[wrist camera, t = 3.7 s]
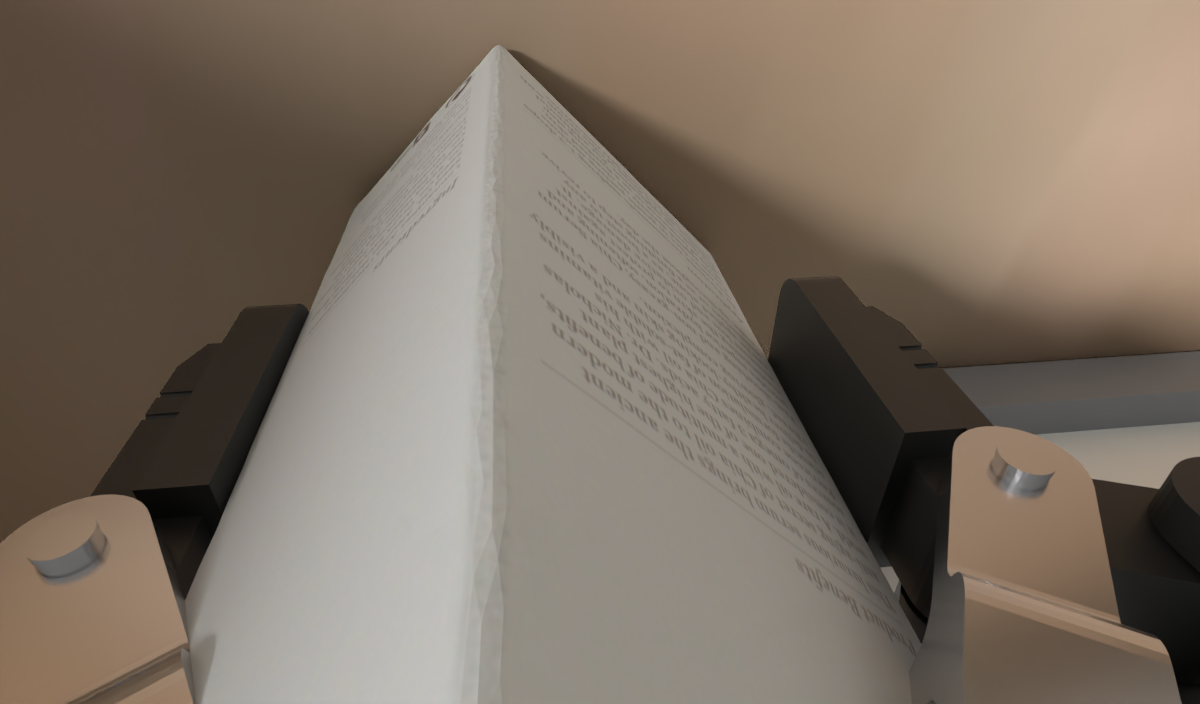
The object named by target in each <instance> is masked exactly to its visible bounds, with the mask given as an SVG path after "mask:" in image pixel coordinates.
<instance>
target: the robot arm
mask: <svg viewBox="0 0 1200 704" xmlns="http://www.w3.org/2000/svg"><path fill="white" fill-rule="evenodd" d="M308 314H309V311H308V310H307V308H306V307H305V306H304V305H302V304H292V305H274V306H255V307H246V308H244V309H243V310H242V312H241V313H240V315H239V316H238V318H237V320H236V321H235V323H234V324H233V326H232V328H231V329H230V331H229V333H228V334H227V336H226V337H225V339H224V341H223V342H222V343H218V344H208V345H206V346H205V347H204V348H202V349H201V350H200V351H198V352H197V353H196V354H194V355H193V356H192V357H190V358H189V359H188V360H186V361H185V362H184V363H182V364H181V365H180V366H178V367H177V369H176V370H175V371H174V373H173V374H172V376H171V377H170V379H169V380H168V382H167V383H166V385H165V386H164V388H163V389H162V391H161V392H160V394H161V397H160V398H156V400H155V401H154V403H153V404H152V406H151V407H150V409H149V410H148V412H147V413H146V420H142V421H141V422H140V423H139V425H138V426H137V428H136V429H135V431H134V432H133V434H132V435H131V437H130V438H129V440H128V441H127V443H126V444H125V446H124V447H123V449H122V450H121V452H120V453H119V455H118V456H117V458H116V459H115V461H114V462H113V464H112V465H111V467H110V468H109V470H108V471H107V472H106V474H105V475H104V477H103V478H102V480H101V481H100V483H99V484H98V486H97V487H96V489H95V490H94V492H93V493H92V495H91V496H90V497H85V498H81V499H77V500H74V501H71V502H68V503H65V504H62V505H60V506H57V507H55V508H53V509H50V510H48V511H46V512H44V513H42V514H40V515H39V516H37V517H35V518H33V519H31V520H30V521H28V522H27V523H25V524H24V525H22V526H21V527H19V528H18V529H17V530H15V531H14V532H13V533H11V534H10V535H9V536H8V537H7V538H6V539H5V540H4V541H2V542H1V543H0V704H196V700H195V691H194V682H193V673H192V663H191V654H190V645H189V636H188V626H187V617H186V605H185V599H186V597H187V595H188V592H189V590H190V587H191V585H192V583H193V580H194V578H195V576H196V573H197V571H198V569H199V566H200V564H201V562H202V560H203V558H204V555H205V553H206V551H207V549H208V547H209V545H210V543H211V540H212V538H213V536H214V534H215V532H216V530H217V527H218V525H219V522H220V520H221V517H222V515H223V512H224V510H225V507H226V505H227V502H228V500H229V498H230V496H231V493H232V491H233V489H234V486H235V484H236V482H237V480H238V477H239V475H240V473H241V471H242V468H243V466H244V463H245V461H246V458H247V456H248V453H249V451H250V448H251V446H252V444H253V441H254V439H255V437H256V434H257V432H258V430H259V427H260V425H261V423H262V420H263V418H264V416H265V414H266V411H267V409H268V407H269V404H270V402H271V400H272V398H273V395H274V393H275V391H276V388H277V386H278V384H279V381H280V379H281V377H282V374H283V372H284V370H285V367H286V365H287V363H288V360H289V358H290V356H291V353H292V351H293V348H294V346H295V344H296V342H297V339H298V337H299V335H300V332H301V330H302V328H303V325H304V323H305V321H306V318H307V316H308ZM768 362H769V363H770V365H771V367H772V369H773V371H774V373H775V375H776V377H777V379H778V380H779V382H780V384H781V386H782V388H783V390H784V392H785V393H786V395H787V397H788V399H789V401H790V403H791V404H792V406H793V408H794V410H795V412H796V414H797V415H798V417H799V419H800V421H801V423H802V425H803V426H804V428H805V430H806V432H807V434H808V436H809V438H810V440H811V441H812V443H813V445H814V447H815V449H816V450H817V452H818V454H819V456H820V458H821V460H822V461H823V463H824V465H825V467H826V469H827V470H828V472H829V474H830V476H831V478H832V480H833V481H834V483H835V485H836V487H837V489H838V491H839V493H840V494H841V496H842V498H843V500H844V502H845V504H846V506H847V507H848V509H849V511H850V513H851V515H852V517H853V519H854V520H855V522H856V524H857V526H858V528H859V530H860V532H861V533H862V535H863V537H864V539H865V541H866V543H867V544H868V546H869V548H870V550H871V552H872V554H873V555H874V557H875V559H876V561H877V563H878V565H879V566H880V567H890V566H892V568H893V570H894V572H895V573H896V575H897V577H898V579H899V582H898V584H897V587H896V589H895V592H894V594H895V596H896V598H897V600H898V602H899V604H900V606H901V608H902V610H903V611H904V613H905V615H906V617H907V619H908V620H909V622H910V624H911V626H912V628H913V630H914V631H915V633H916V635H917V637H918V639H919V641H920V642H921V647H920V649H919V651H918V654H917V656H916V658H915V660H914V662H913V664H912V666H911V668H910V671H909V680H910V690H911V700H912V704H1200V457H1192V458H1188V459H1185V460H1182V461H1180V462H1179V463H1177V464H1176V465H1175V466H1174V468H1173V469H1172V471H1171V472H1170V474H1169V475H1168V477H1167V478H1166V480H1165V481H1164V483H1163V484H1162V486H1161V487H1160V489H1156V488H1149V487H1143V486H1136V485H1130V484H1123V483H1117V482H1110V481H1104V480H1097V479H1091V477H1090V475H1089V473H1088V472H1087V470H1086V469H1085V468H1084V467H1083V466H1082V464H1081V463H1080V462H1078V461H1077V460H1076V459H1075V458H1074V457H1073V456H1072V455H1070V454H1069V453H1068V452H1066V451H1065V450H1064V449H1062V448H1060V447H1059V446H1057V445H1055V444H1054V443H1052V442H1050V441H1048V440H1046V439H1044V438H1042V437H1039V436H1036V435H1034V434H1031V433H1028V432H1025V431H1021V430H1018V429H1013V428H1008V427H999V426H994V425H993V424H992V423H991V422H990V421H989V420H988V419H987V418H986V417H985V415H984V414H983V413H982V412H981V411H980V410H979V409H978V408H977V407H976V405H975V404H974V403H973V402H972V401H971V400H970V399H969V398H968V397H967V395H966V394H965V393H964V392H963V391H962V390H961V389H960V388H959V386H958V385H957V384H956V383H955V382H954V381H953V380H952V379H951V378H950V376H949V375H948V374H947V373H946V372H945V371H944V370H943V369H942V368H941V367H937V362H936V361H935V360H934V359H933V357H932V356H931V355H930V354H929V353H928V352H927V351H926V350H925V349H921V344H920V343H919V342H918V341H917V340H916V339H915V337H914V336H913V335H912V334H911V333H910V332H909V331H908V330H907V329H906V327H905V326H904V325H903V324H902V323H900V322H898V321H897V320H895V319H893V318H892V317H890V316H888V315H887V314H885V313H883V312H881V311H880V310H878V309H876V308H875V307H873V306H871V307H865V306H864V305H863V304H862V303H861V302H860V300H859V299H858V298H857V297H856V296H855V295H854V293H853V292H852V291H851V290H850V289H849V287H848V286H847V285H846V284H845V283H844V282H843V280H842V279H841V278H839V277H835V276H834V277H815V278H796V279H788V280H786V281H785V283H784V284H783V286H782V289H781V292H780V297H779V302H778V308H777V314H776V319H775V325H774V331H773V336H772V342H771V348H770V353H769V359H768Z"/></svg>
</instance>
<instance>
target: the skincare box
mask: <svg viewBox="0 0 1200 704" xmlns="http://www.w3.org/2000/svg"><path fill="white" fill-rule="evenodd" d="M185 605H186V617H187V626H188V636H189V645H190V654H191V663H192V673H193V682H194V691H195V700H196V704H912V700H911V690H910V680H909V671H910V668H911V666H912V664H913V662H914V660H915V658H916V656H917V654H918V651H919V649H920V647H921V642H920V641H919V639H918V637H917V635H916V633H915V631H914V630H913V628H912V626H911V624H910V622H909V620H908V619H907V617H906V615H905V613H904V611H903V610H902V608H901V606H900V604H899V602H898V600H897V598H896V596H895V594H894V592H893V591H892V589H891V587H890V585H889V583H888V581H887V579H886V577H885V576H884V574H883V572H882V570H881V568H880V566H879V565H878V563H877V561H876V559H875V557H874V555H873V554H872V552H871V550H870V548H869V546H868V544H867V543H866V541H865V539H864V537H863V535H862V533H861V532H860V530H859V528H858V526H857V524H856V522H855V520H854V519H853V517H852V515H851V513H850V511H849V509H848V507H847V506H846V504H845V502H844V500H843V498H842V496H841V494H840V493H839V491H838V489H837V487H836V485H835V483H834V481H833V480H832V478H831V476H830V474H829V472H828V470H827V469H826V467H825V465H824V463H823V461H822V460H821V458H820V456H819V454H818V452H817V450H816V449H815V447H814V445H813V443H812V441H811V440H810V438H809V436H808V434H807V432H806V430H805V428H804V426H803V425H802V423H801V421H800V419H799V417H798V415H797V414H796V412H795V410H794V408H793V406H792V404H791V403H790V401H789V399H788V397H787V395H786V393H785V392H784V390H783V388H782V386H781V384H780V382H779V380H778V379H777V377H776V375H775V373H774V371H773V369H772V367H771V365H770V363H769V362H768V360H767V358H766V356H765V354H764V352H763V351H762V349H761V347H760V345H759V343H758V342H757V340H756V338H755V336H754V334H753V332H752V330H751V328H750V326H749V325H748V323H747V321H746V319H745V317H744V315H743V313H742V311H741V309H740V307H739V305H738V303H737V301H736V300H735V298H734V296H733V294H732V292H731V291H730V289H729V287H728V285H727V283H726V281H725V279H724V278H723V276H722V274H721V272H720V270H719V268H718V266H717V265H716V263H715V261H714V259H713V257H712V255H711V254H710V253H709V252H708V251H707V250H706V249H705V248H704V247H703V246H702V244H701V243H700V242H699V241H698V240H697V239H696V238H695V237H694V236H693V235H692V234H691V233H690V232H689V231H688V230H687V229H686V228H685V227H684V226H683V225H682V224H681V223H680V222H679V221H678V220H677V219H676V218H675V217H674V216H673V215H672V214H671V213H670V212H669V211H668V210H667V209H666V208H665V207H664V206H663V205H661V204H660V203H659V202H658V201H657V200H656V199H655V198H654V197H653V196H652V195H651V194H650V193H649V192H648V191H647V190H646V189H645V188H644V187H643V186H642V185H641V184H640V183H639V182H638V181H637V180H636V179H635V178H634V177H633V176H632V175H631V174H630V173H629V171H628V170H627V169H626V168H625V167H624V166H623V165H622V164H620V163H619V162H618V161H617V160H616V159H615V158H614V157H613V156H612V155H611V154H610V153H609V152H608V151H607V150H606V149H605V148H604V147H603V146H602V145H601V144H600V143H599V142H598V141H597V140H596V139H595V138H594V137H593V136H592V135H591V134H590V133H589V132H588V131H587V130H586V129H585V128H584V127H583V126H582V125H581V124H580V123H579V122H578V121H577V120H576V119H575V118H574V117H573V116H572V115H571V114H570V113H569V112H568V111H567V110H566V109H565V108H564V107H563V106H562V105H561V104H560V103H559V102H558V101H557V100H556V99H555V98H554V97H553V96H552V95H551V94H550V93H549V92H548V91H547V90H546V89H545V88H544V87H543V86H542V85H541V84H540V83H539V82H538V81H537V80H536V79H535V78H534V77H533V76H532V75H531V74H530V73H529V72H528V71H527V70H526V69H525V68H524V67H523V66H522V65H521V64H520V63H519V62H518V61H517V60H516V59H515V58H514V57H513V56H512V55H511V54H510V53H509V52H508V51H507V50H506V49H505V48H504V47H502V46H501V45H497V46H495V47H494V48H492V50H491V51H490V52H489V53H488V54H487V56H486V57H485V58H484V59H483V60H482V61H481V63H480V64H479V65H478V66H477V67H476V68H475V70H474V71H473V72H472V73H471V74H470V75H469V76H468V78H467V79H466V80H465V81H464V82H463V83H462V85H461V86H460V87H459V88H458V89H457V90H456V91H455V92H454V93H453V95H452V96H451V97H450V98H449V99H448V100H447V101H446V102H445V103H444V104H443V106H442V107H441V108H440V109H439V110H438V111H437V112H436V113H435V114H434V116H433V117H432V118H431V119H430V120H429V122H428V123H427V124H426V125H425V126H424V128H423V129H422V130H421V131H420V132H419V134H418V135H417V136H416V137H415V138H414V140H413V141H412V142H411V143H410V145H409V146H408V147H407V148H406V149H405V151H404V152H403V153H402V154H401V155H400V157H399V158H398V159H397V160H396V161H395V163H394V164H393V165H392V166H391V167H390V168H389V170H388V171H387V172H386V173H385V174H384V176H383V177H382V178H381V179H380V180H379V181H378V183H377V184H376V185H375V186H374V187H373V188H372V190H371V191H370V192H369V193H368V194H367V195H366V196H365V197H364V198H363V199H362V201H361V202H360V203H359V204H358V205H357V206H356V208H355V209H354V211H353V213H352V215H351V217H350V219H349V221H348V224H347V226H346V228H345V231H344V233H343V236H342V238H341V241H340V243H339V245H338V247H337V250H336V252H335V254H334V256H333V258H332V261H331V263H330V265H329V267H328V270H327V271H326V274H325V276H324V278H323V281H322V283H321V286H320V288H319V290H318V293H317V295H316V298H315V300H314V302H313V305H312V307H311V309H310V311H309V314H308V316H307V318H306V321H305V323H304V325H303V328H302V330H301V332H300V335H299V337H298V339H297V342H296V344H295V346H294V348H293V351H292V353H291V356H290V358H289V360H288V363H287V365H286V367H285V370H284V372H283V374H282V377H281V379H280V381H279V384H278V386H277V388H276V391H275V393H274V395H273V398H272V400H271V402H270V404H269V407H268V409H267V411H266V414H265V416H264V418H263V420H262V423H261V425H260V427H259V430H258V432H257V434H256V437H255V439H254V441H253V444H252V446H251V448H250V451H249V453H248V456H247V458H246V461H245V463H244V466H243V468H242V471H241V473H240V475H239V477H238V480H237V482H236V484H235V486H234V489H233V491H232V493H231V496H230V498H229V500H228V502H227V505H226V507H225V510H224V512H223V515H222V517H221V520H220V522H219V525H218V527H217V530H216V532H215V534H214V536H213V538H212V540H211V543H210V545H209V547H208V549H207V551H206V553H205V555H204V558H203V560H202V562H201V564H200V566H199V569H198V571H197V573H196V576H195V578H194V580H193V583H192V585H191V587H190V590H189V592H188V595H187V597H186V599H185Z"/></svg>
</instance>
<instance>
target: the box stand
mask: <svg viewBox="0 0 1200 704" xmlns="http://www.w3.org/2000/svg"><path fill="white" fill-rule="evenodd" d="M942 369H943V370H944V371H945V372H946V373H947V374H948V375H949V376H950V378H951V379H952V380H953V381H954V382H955V383H956V384H957V385H958V386H959V388H960V389H961V390H962V391H963V392H964V393H965V394H966V395H967V397H968V398H969V399H970V400H971V401H972V402H973V403H974V404H975V405H976V407H977V408H978V409H979V410H980V411H981V412H982V413H983V414H984V415H985V417H986V418H987V419H988V420H989V421H990V422H991V423H992V424H993V425H994V426H999V427H1008V428H1013V429H1018V430H1021V431H1025V432H1028V433H1031V434H1034V435H1036V436H1039V437H1042V438H1044V439H1046V440H1048V441H1050V442H1052V443H1054V444H1055V445H1057V446H1059V447H1060V448H1062V449H1064V450H1065V451H1066V452H1068V453H1069V454H1070V455H1072V456H1073V457H1074V458H1075V459H1076V460H1077V461H1078V462H1080V463H1081V464H1082V466H1083V467H1084V468H1085V469H1086V470H1087V472H1088V473H1089V475H1090V477H1091V479H1097V480H1104V481H1110V482H1117V483H1123V484H1130V485H1136V486H1143V487H1149V488H1156V489H1160V487H1161V486H1162V484H1163V483H1164V481H1165V480H1166V478H1167V477H1168V475H1169V474H1170V472H1171V471H1172V469H1173V468H1174V466H1175V465H1176V464H1177V463H1179V462H1180V461H1182V460H1185V459H1188V458H1192V457H1200V351H1193V352H1178V353H1164V354H1149V355H1134V356H1119V357H1104V358H1090V359H1075V360H1060V361H1045V362H1031V363H1016V364H1001V365H986V366H971V367H957V368H942ZM880 568H881V570H882V572H883V574H884V576H885V577H886V579H887V581H888V583H889V585H890V587H891V589H892V591H893V592H895V589H896V587H897V584H898V582H899V579H898V577H897V575H896V573H895V572H894V570H893V568H892V566H890V567H880Z"/></svg>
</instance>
